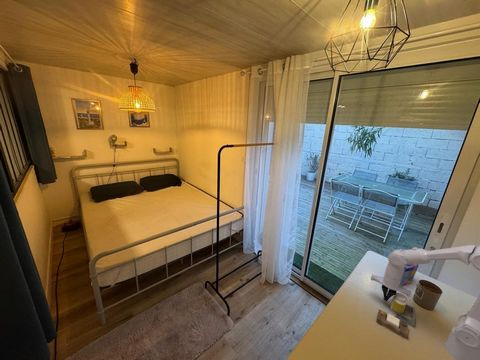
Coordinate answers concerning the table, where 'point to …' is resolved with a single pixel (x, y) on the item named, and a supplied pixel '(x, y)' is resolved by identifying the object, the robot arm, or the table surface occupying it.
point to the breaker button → (392, 320)
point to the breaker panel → (402, 325)
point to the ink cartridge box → (408, 274)
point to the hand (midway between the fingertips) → (385, 299)
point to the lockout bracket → (405, 319)
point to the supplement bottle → (398, 303)
